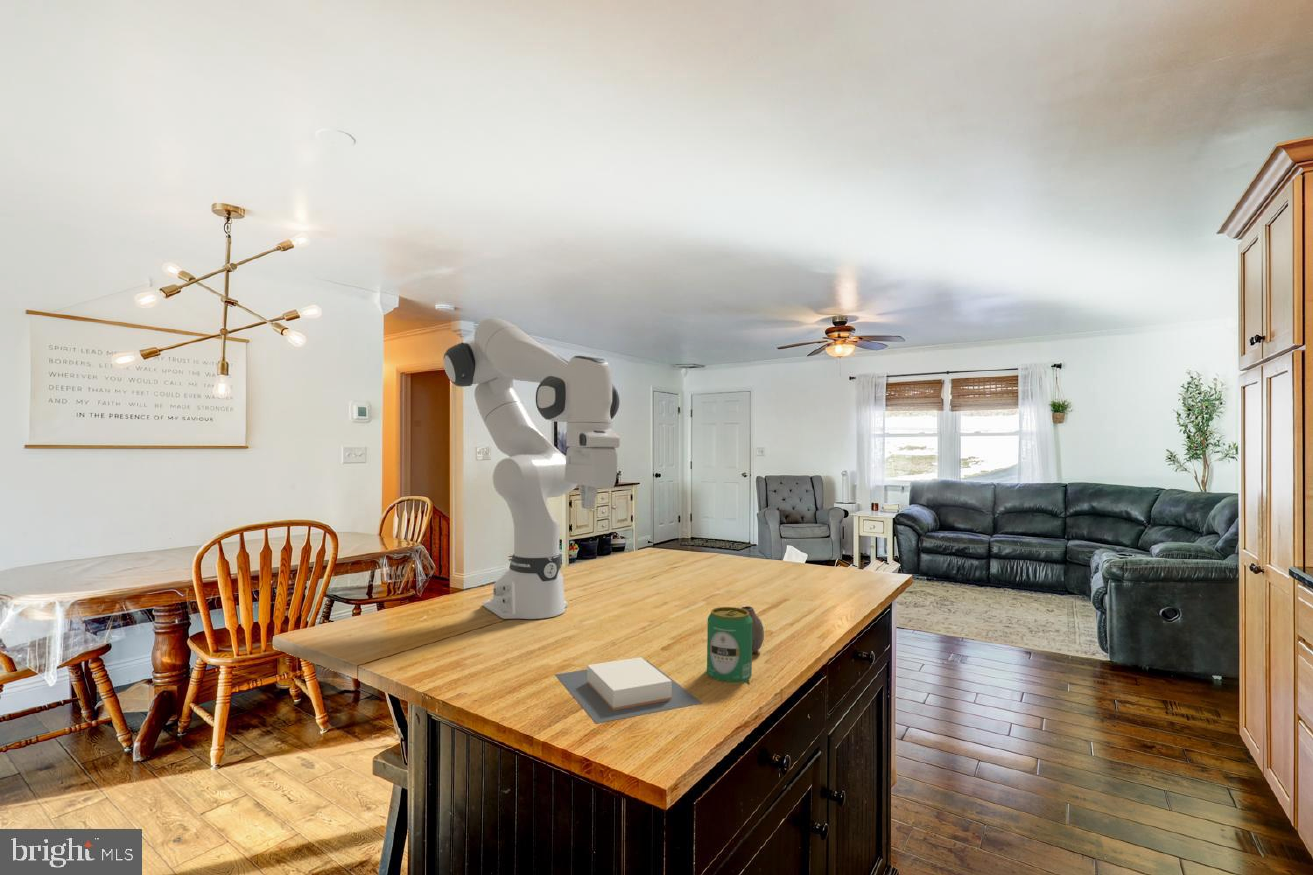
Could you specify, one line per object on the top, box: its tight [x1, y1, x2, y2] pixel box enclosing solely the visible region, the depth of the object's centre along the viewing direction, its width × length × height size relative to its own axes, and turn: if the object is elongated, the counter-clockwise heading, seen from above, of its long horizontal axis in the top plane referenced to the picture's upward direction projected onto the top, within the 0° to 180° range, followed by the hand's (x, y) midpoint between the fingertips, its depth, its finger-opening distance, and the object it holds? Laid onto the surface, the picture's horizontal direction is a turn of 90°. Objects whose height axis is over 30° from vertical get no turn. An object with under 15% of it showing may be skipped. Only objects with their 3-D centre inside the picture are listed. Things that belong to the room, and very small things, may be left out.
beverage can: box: [706, 606, 753, 684], centre depth 111 cm, size 8×8×12 cm
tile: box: [587, 656, 672, 710], centre depth 102 cm, size 3×10×12 cm
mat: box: [554, 660, 703, 725], centre depth 103 cm, size 21×18×1 cm
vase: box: [740, 605, 765, 654], centre depth 126 cm, size 7×7×9 cm
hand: (587, 508), depth 121 cm, fingers closed
